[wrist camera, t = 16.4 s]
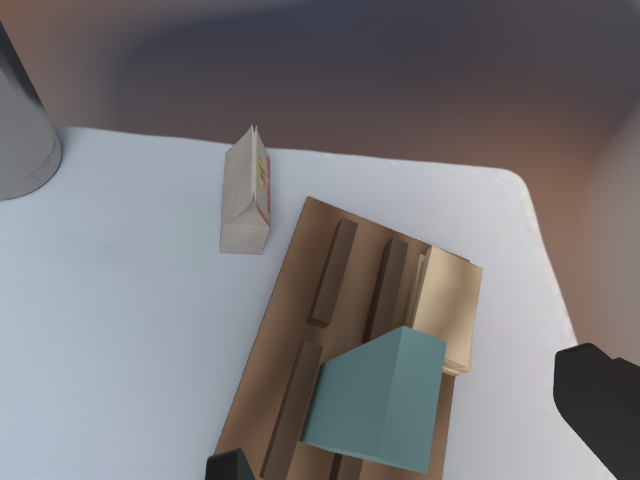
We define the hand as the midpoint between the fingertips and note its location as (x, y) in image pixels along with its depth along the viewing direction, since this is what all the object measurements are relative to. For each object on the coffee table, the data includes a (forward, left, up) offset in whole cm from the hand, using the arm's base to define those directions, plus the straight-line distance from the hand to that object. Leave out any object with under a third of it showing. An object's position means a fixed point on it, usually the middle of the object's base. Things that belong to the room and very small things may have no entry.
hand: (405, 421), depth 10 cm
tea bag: (-8, +16, -26) cm, 31 cm away
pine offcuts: (+12, +13, -24) cm, 30 cm away
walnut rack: (+6, +7, -26) cm, 27 cm away
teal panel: (+4, +2, -25) cm, 25 cm away
